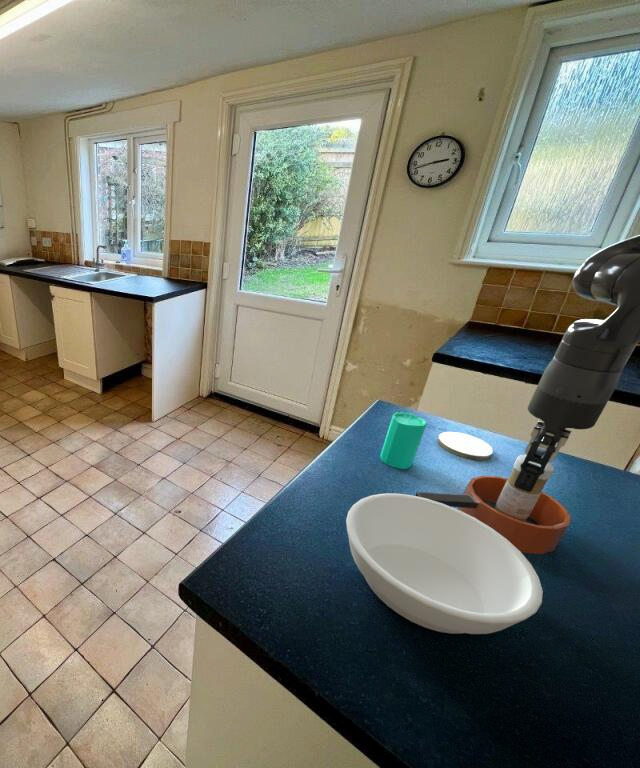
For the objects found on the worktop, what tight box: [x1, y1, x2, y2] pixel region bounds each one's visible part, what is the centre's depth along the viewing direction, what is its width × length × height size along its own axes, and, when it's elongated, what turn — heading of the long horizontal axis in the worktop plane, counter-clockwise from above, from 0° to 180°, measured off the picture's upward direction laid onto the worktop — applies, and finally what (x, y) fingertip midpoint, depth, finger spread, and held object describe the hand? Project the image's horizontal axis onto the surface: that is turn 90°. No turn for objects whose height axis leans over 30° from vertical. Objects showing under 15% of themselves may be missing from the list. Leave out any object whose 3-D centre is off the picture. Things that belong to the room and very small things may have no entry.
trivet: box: [437, 431, 494, 461], centre depth 95 cm, size 10×10×1 cm
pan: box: [414, 474, 572, 555], centre depth 72 cm, size 22×13×6 cm, turn 84°
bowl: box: [345, 493, 544, 635], centre depth 60 cm, size 22×22×8 cm
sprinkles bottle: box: [493, 454, 555, 522], centre depth 70 cm, size 5×5×14 cm
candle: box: [379, 411, 427, 470], centre depth 88 cm, size 6×6×12 cm
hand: (525, 481), depth 69 cm, fingers closed on sprinkles bottle, 4 cm apart
